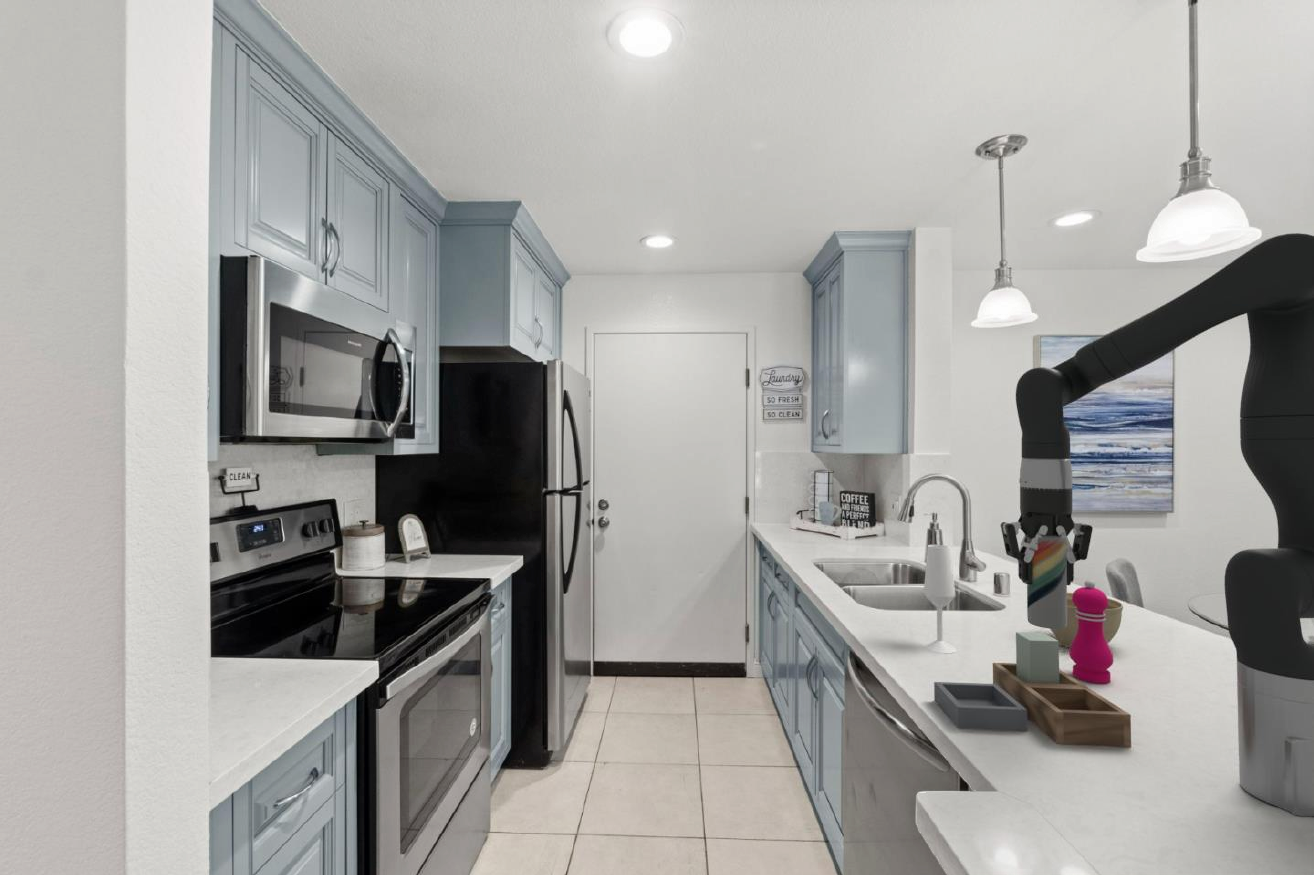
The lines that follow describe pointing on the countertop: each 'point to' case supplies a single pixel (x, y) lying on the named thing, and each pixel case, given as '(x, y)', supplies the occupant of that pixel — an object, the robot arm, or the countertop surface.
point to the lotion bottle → (1048, 579)
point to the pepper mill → (1090, 636)
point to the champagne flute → (939, 589)
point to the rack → (1067, 709)
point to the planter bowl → (1070, 631)
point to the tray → (980, 706)
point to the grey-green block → (1037, 658)
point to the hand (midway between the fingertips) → (1045, 583)
